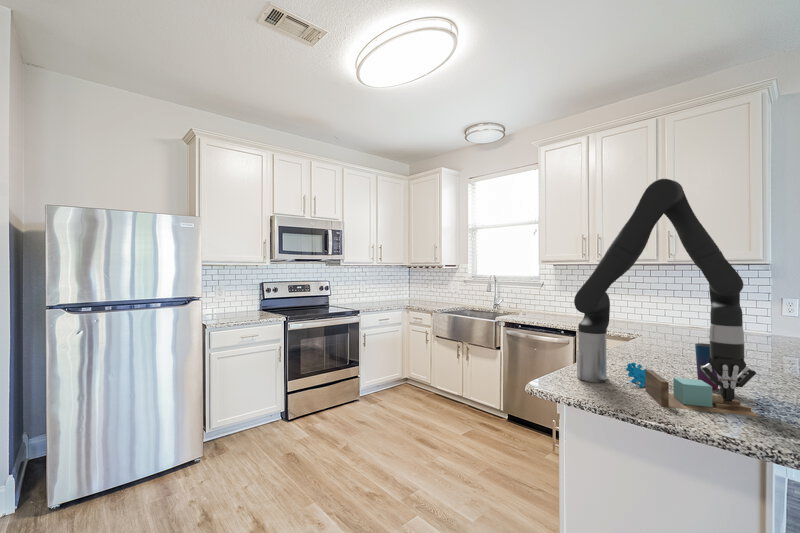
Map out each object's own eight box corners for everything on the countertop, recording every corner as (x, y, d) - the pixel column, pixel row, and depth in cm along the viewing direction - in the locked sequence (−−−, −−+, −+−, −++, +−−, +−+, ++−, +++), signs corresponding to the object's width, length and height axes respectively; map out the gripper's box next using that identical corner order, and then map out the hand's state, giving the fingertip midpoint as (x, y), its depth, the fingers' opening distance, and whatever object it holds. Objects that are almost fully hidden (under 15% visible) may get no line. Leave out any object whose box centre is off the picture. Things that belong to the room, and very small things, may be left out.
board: (661, 409, 105) (661, 381, 105) (645, 393, 118) (645, 369, 119) (762, 420, 98) (761, 390, 98) (733, 402, 111) (733, 376, 111)
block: (683, 404, 106) (683, 384, 106) (673, 396, 113) (673, 377, 113) (712, 407, 104) (712, 386, 104) (700, 399, 111) (700, 379, 111)
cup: (726, 393, 119) (726, 347, 119) (702, 392, 120) (702, 346, 121) (713, 387, 126) (713, 343, 126) (690, 386, 127) (690, 342, 127)
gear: (638, 386, 121) (623, 360, 128) (626, 395, 124) (612, 368, 132) (665, 389, 123) (648, 362, 130) (652, 397, 127) (637, 371, 134)
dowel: (689, 403, 108) (689, 392, 108) (685, 400, 110) (685, 390, 111) (723, 406, 105) (723, 395, 105) (718, 404, 108) (718, 393, 108)
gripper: (705, 341, 105) (706, 402, 105) (763, 344, 101) (764, 407, 100) (693, 337, 112) (694, 394, 112) (747, 339, 108) (748, 398, 108)
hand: (727, 400), depth 106 cm, fingers closed
